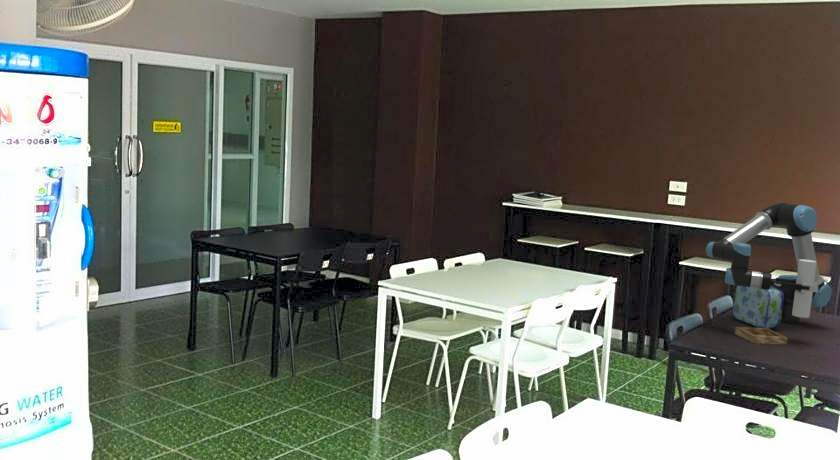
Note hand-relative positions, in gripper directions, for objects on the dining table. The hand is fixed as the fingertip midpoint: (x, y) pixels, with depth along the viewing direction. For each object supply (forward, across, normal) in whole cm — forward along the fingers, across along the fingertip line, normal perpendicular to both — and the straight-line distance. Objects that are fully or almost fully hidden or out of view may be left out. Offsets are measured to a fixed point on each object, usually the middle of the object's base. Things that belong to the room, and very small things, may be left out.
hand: (817, 287), depth 362 cm
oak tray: (-20, +5, -26) cm, 33 cm away
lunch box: (-22, -27, -26) cm, 44 cm away
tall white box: (-5, 0, -14) cm, 15 cm away
